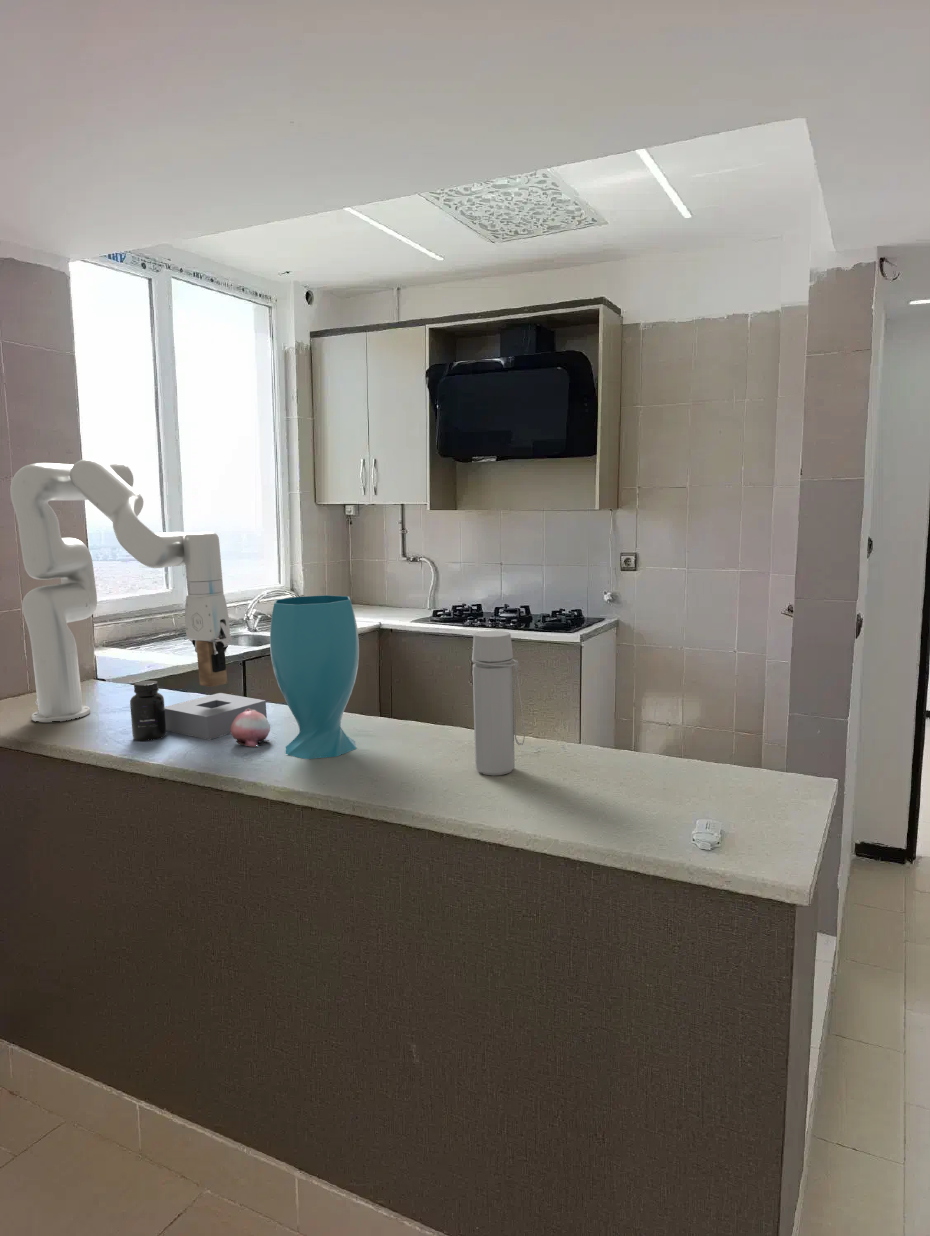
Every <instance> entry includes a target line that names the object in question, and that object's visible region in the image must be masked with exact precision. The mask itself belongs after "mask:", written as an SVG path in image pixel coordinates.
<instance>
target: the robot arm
mask: <svg viewBox="0 0 930 1236" xmlns="http://www.w3.org/2000/svg"><path fill="white" fill-rule="evenodd" d="M133 487H134V475H133V472H132V471H131V468H130V467H129V466H128V465H127V464H126V463H124V462H123V461H121V460H118V459H113V458H100V457H87V458H82V459H80V460H78V461H76V462H75V463H74V464H73V463H71V464H69V463H56V462H55V463H54V462H35V463H31V464H26V465H24V466H22V467H21V468H20V469H18V471H16V472H15V474H14V475H13V478H12V479H11V483H10V490H9V492H10V500H11V503H12V507H13V509H14V510H13V511H14V513H15V516H16V521H17V526H18V534H19V535H18V536H19V540H20V541H19V542H20V549H21V555H22V556H21V557H22V563H23V566H24V570H25V572H26V573H27V575H28V576H29V577H30V578H32V579H34V580H38V581H39V580H42V581H43V580H45V581H46V580H56V579H60V582H61V583H55V584H49V585H42V586H37V587H35V588H33V589H31V590H30V591H28V592H27V593H26V594H25V595H24V597H23V599H22V602H21V603H22V604H21V609H22V614H23V617H24V619H25V623H26V626H27V630H28V633H29V639H30V646H31V654H32V664H33V672H34V682H35V691H36V692H35V693H36V700H34V703H35V704H36V706H37V709H38V710H37V711H35V712H33V713H32V714H31V721H33V722H36V721H41V722H40V723H53V722H52V721H60V722H66V720H67V721H71V719H72V720H76V719H75V718H77V719H79V717H80V718H82V717H85V716H87V715H89V714H90V713H91V708H90V707H89V706H88V705H83V697H82V688H81V676H80V667H79V657H78V647H77V641H76V639H75V635H74V633H73V632H72V630H71V629H70V627H69V625H68V624H69V623H73V622H78V621H83V620H85V619H88V618H90V617H92V616H93V615H94V613H95V611H96V609H97V604H98V594H97V593H98V592H97V587H96V586H97V585H96V580H95V570H94V563H93V562H94V561H93V558H92V555H91V551H90V550H89V548H88V547H87V545H86V544H85V543H84V542H83V541H81V540H80V539H77V538H75V537H62V534H61V530H60V521H59V518H58V516H57V514H56V512H55V511H54V509H53V507H51V505H50V504H49V502H51V501H87V500H88V501H89V502H90V504H91V503H92V505H93V506H94V507H96V508H97V509H98V510H99V511H100V512H101V513H102V514H103V515H104V516H106V517H107V518H108V519H109V521H111V522H112V529H113V532H114V535H115V537H116V539H117V542H118V543H119V544H120V546H121V547H122V548H123V549H124V550H125V551H126V553H128V554H129V555H131V557H133V558H134V559H135V560H136V561H137V562H138V563H140V564H142V565H143V566H145V567H148V568H151V569H161V568H162V569H163V568H171V567H179V566H185V567H184V569H185V576H186V578H185V579H186V588H187V590H186V591H187V594H186V598H185V605H184V606H185V607H184V609H185V610H184V622H185V623H184V625H185V626H184V627H185V635H186V638H187V639H188V640H189V641H190V642H191V644H192V646H193V647H194V651H195V653H196V654H197V647H196V641H197V640H198V641H211V646H212V650H213V654H212V655H211V657H212V668H213V672H220V671H224V670H226V671H227V662H225V660H226V653H227V649H228V647H229V645H230V644H231V643H232V642H233V637H232V635H231V626H230V625H231V624H230V617H229V610H228V606H227V601H226V596H225V594H224V584H223V571H222V570H223V569H222V559H221V548H220V547H221V545H220V538H219V536H218V534H217V533H216V532H214V531H200V532H199V531H198V532H185V531H169V532H168V531H167V532H154V531H153V530H151V529H150V527H148V526H147V525H145V523H143V522H142V520H140V519H139V517H138V516H139V515H140V513H141V512H142V510H143V507H144V498H143V496H142V495H141V494H140V493H139V492H138V491H137V490H135V489H134V488H133ZM216 638H219V639H217V640H215V639H216ZM216 642H219V644H218V646H217V643H216Z"/></svg>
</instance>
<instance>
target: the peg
mask: <svg viewBox="0 0 930 1236" xmlns="http://www.w3.org/2000/svg"><path fill="white" fill-rule="evenodd" d="M217 639H219V638H216V639H215V640H217ZM216 643H217V646H218V644H219V642H216ZM196 647H197V653H196V657H197V668H198V680H199V686H203V687H211V688H212V687H218V686H221V685H225V684H228V674H227V673H228V672H227V669H226V670H224V671H220V672H213V668H212V657H211V655H212V654H213V650H212V646H211V641H198V640H197V641H196ZM225 662H226V659H225ZM226 663H227V662H226Z"/></svg>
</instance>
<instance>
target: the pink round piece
mask: <svg viewBox="0 0 930 1236" xmlns="http://www.w3.org/2000/svg"><path fill="white" fill-rule="evenodd" d="M230 731H231V733H230V734H231V736H232V737H233V739H235V743H236V744H237V745H239V746H240V745H241V746H246V747H250V748H257V747H256V745H259V744H258V743H263V744H261V746H262V745H264V743H265V744H266V742H270V740H266V738H268V736H269V734H270V731H271V727H270V722H269V720H268V717H267V718H266V717H265V716H264V715H263V714H261V713H259V712H257V711H256V710H251V709H246V710H245V711H244V712H242V713H240V714H239V715H238V716H237V717H236V718H235V719H234V721H233V723H232V725H231V730H230ZM265 740H266V741H265Z"/></svg>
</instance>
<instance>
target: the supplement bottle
mask: <svg viewBox="0 0 930 1236" xmlns="http://www.w3.org/2000/svg"><path fill="white" fill-rule="evenodd" d="M133 688H134V689H133V693H135V694H134V695H133V696H132V697H131V698H130V701H129V703H130V704H129V705H130V717H131V719H130V720H131V722H130V723H131V732H132V733H131V734H132V738H133V740H134V741H138V742H148V741H156V740H161V739H162V738H164V737H165V736H166V734H167V730H166V721H165V707H166V706H165V697H164V695H163V694H162V693H159V692H158V691H159V689H160V687H159V682H158V681H156V680H143V681H142V680H141V681H137V682H135V683H134V684H133Z"/></svg>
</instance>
